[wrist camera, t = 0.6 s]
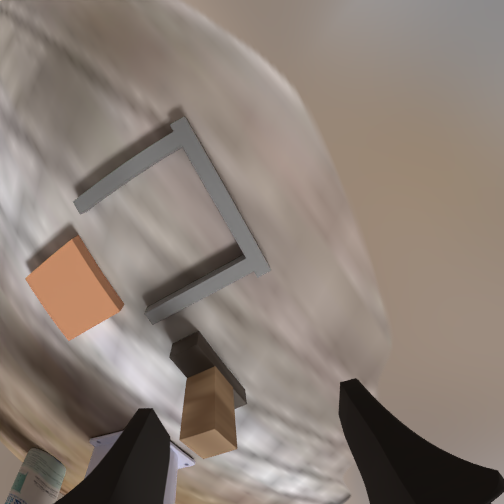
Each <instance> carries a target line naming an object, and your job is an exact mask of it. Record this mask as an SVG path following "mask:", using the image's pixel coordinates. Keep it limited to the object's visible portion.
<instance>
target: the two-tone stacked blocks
mask: <svg viewBox="0 0 504 504" xmlns="http://www.w3.org/2000/svg"><path fill="white" fill-rule="evenodd" d="M170 359H171V360H172V361H173V362H174V363H175V364H176V366H177V367H178V368H179V369H180V370H181V371H182V373H183V374H184V375H185V376H186V377H187V381H186V389H185V396H184V405H183V413H182V422H181V431H180V441H181V442H183V443H184V444H185V445H186V446H187V447H189V448H190V449H191V450H193V451H194V452H195V453H196V454H198V455H199V456H200V457H202V458H203V459H205V458H209V457H212V456H216V455H219V454H222V453H226V452H229V451H232V450H235V449H237V438H236V425H235V411H234V409H236V408H238V407H241V406H243V405H246V404H247V402H246V393H245V389H244V388H243V387H242V386H241V384H240V383H239V382H238V381H237V379H236V378H235V377H234V376H233V375H232V373H231V372H230V371H229V370H228V368H227V367H226V366H225V365H224V363H223V362H222V361H221V359H220V358H219V357H218V356H217V354H216V353H215V352H214V350H213V349H212V348H211V346H210V345H209V344H208V343H207V341H206V340H205V339H204V337H203V336H202V335H201V333H200V332H199V331H198V332H196V333H194V334H192V335H190V336H188V337H186V338H184V339H181V340H179V341H177V342H175V343H173V345H172V349H171V353H170Z"/></svg>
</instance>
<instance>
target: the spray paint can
mask: <svg viewBox="0 0 504 504" xmlns="http://www.w3.org/2000/svg"><path fill="white" fill-rule="evenodd" d="M65 471H66V469H65V467H64V466H63V464H62V463H61V462H59V461H58V460H57V459H56V458H54V457H53V456H51V455H50V454H48V453H46V452H44V451H42V450H40V449H37V448H31V449H30V450H29V452H28V454H27V456H26V458H25V460H24V462H23V464H22V466H21V468H20V470H19V472H18V475H17V477H16V479H15V481H14V484H13V486H12V488H11V491H10V493H9V495H8V498H7V500H6V503H5V504H53V503H55V502H56V500H57V496H58V494H59V491H60V488H61V485H62V482H63V479H64V476H65Z"/></svg>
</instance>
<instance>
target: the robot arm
mask: <svg viewBox="0 0 504 504" xmlns="http://www.w3.org/2000/svg"><path fill="white" fill-rule="evenodd" d="M339 418H340V421H341V425H342V428H343V432H344V435H345V438H346V440H347V443H348V445H349V447H350V450H351V452H352V455H353V457H354V459H355V462H356V464H357V466H358V469H359V471H360V473H361V476H362V478H363V481H364V484H365V487H366V490H367V494H368V497H369V501H370V504H491V502H492V501H494V500H495V499H496V498H497V497H499V496H500V495H501V494H502V493H503V492H504V479H503V477H502V476H501V474H500V473H499V472H498V471H497V470H494V469H490V468H486V467H482V466H479V465H476V464H473V463H471V462H468V461H465V460H463V459H461V458H458V457H456V456H454V455H452V454H450V453H448V452H446V451H444V450H442V449H440V448H438V447H436V446H435V445H433V444H431V443H429V442H428V441H426V440H425V439H423V438H422V437H420V436H419V435H417V434H416V433H415V432H413V431H412V430H410V429H409V428H408V427H407V426H405V425H404V424H403V423H401V422H400V421H399V420H398V419H397V418H396V417H394V416H393V415H392V414H391V413H390V412H389V411H388V410H386V408H385V407H383V406H382V405H381V404H380V403H379V402H378V401H377V400H376V399H375V398H374V397H373V396H372V395H371V394H370V392H369V391H368V390H367V389H366V388H365V387H364V386H363V385H362V384H361V383H360V381H359V380H358V379H356V378H355V379H351V380H348V381H344V382H340V398H339ZM90 443H91V444H92V445H93V446H94V450H93V453H92V456H91V459H90V463H89V466H88V469H87V472H86V475H85V478H84V480H83V481H82V482H81V483H79V484H78V485H77V486H76V487H75V488H74V489H72V490H71V491H70V492H69V493H68V494H66V495H65V496H64V497H62V498H61V499H59V500H58V501H56V502H55V503H53V504H175V495H176V482H177V469H180V468H184V467H189V466H193V465H195V461H194V460H193V459H192V458H191V457H189V456H188V455H187V454H185V453H184V452H183V451H181V450H180V449H179V448H178V447H176V446H175V445H174V444H173V443H171V442H170V436H169V434H168V433H167V431H166V429H165V428H164V426H163V425H162V423H161V421H160V420H159V418H158V417H157V415H156V413H155V412H154V410H153V408H143V409H138V411H137V412H136V413H135V415H134V416H133V418H132V419H131V420H130V422H129V423H128V425H127V426H126V428H125V429H124V430H123V431H120V432H116V433H112V434H108V435H104V436H100V437H96V438H91V439H90Z"/></svg>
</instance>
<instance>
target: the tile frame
mask: <svg viewBox="0 0 504 504" xmlns="http://www.w3.org/2000/svg"><path fill="white" fill-rule="evenodd" d="M170 126H171V128H172V129H173V131H174V132H172V133H170V134H169V135H167V136H165V137H164V138H162V139H161V140H159V141H157V142H156V143H154V144H153V145H151V146H149V147H148V148H146V149H145V150H143V151H142V152H140V153H139V154H137V155H136V156H134V157H133V158H131V159H130V160H128V161H127V162H125V163H124V164H123V165H121V166H120V167H118V168H117V169H115V170H114V171H113V172H111V173H110V174H108V175H107V176H106V177H104V178H103V179H102V180H100V181H99V182H98V183H96V184H95V185H94V186H92V187H91V188H90V189H88V190H87V191H86V192H85V193H83V194H82V195H81V196H80V197H78V198H77V199H76V200H75V201H73V203H74V205H75V206H76V208H77V210H78V212H79V214H83V213H85V212H87V211H88V210H90V209H91V208H92V207H94V206H95V205H96V204H98V203H99V202H100V201H102V200H103V199H104V198H106V197H107V196H108V195H110V194H111V193H113V192H114V191H115V190H117V189H118V188H120V187H121V186H123V185H124V184H126V183H127V182H128V181H130V180H131V179H133V178H134V177H136V176H137V175H139V174H140V173H142V172H143V171H145V170H146V169H148V168H150V167H151V166H153V165H154V164H156V163H157V162H159V161H161V160H162V159H164V158H165V157H167V156H169V155H170V154H172V153H174V152H175V151H177V150H179V149H180V148H182V147H183V149H184V151H185V152H186V154H187V156H188V158H189V159H190V161H191V163H192V165H193V166H194V168H195V170H196V172H197V173H198V175H199V177H200V179H201V180H202V182H203V184H204V186H205V187H206V189H207V191H208V193H209V194H210V196H211V198H212V200H213V201H214V203H215V205H216V207H217V208H218V210H219V212H220V214H221V215H222V217H223V219H224V221H225V222H226V224H227V226H228V228H229V229H230V231H231V233H232V234H233V236H234V238H235V240H236V241H237V243H238V245H239V247H240V248H241V250H242V252H243V253H244V255H242V256H240V257H238V258H237V259H235V260H233V261H231V262H229V263H227V264H226V265H224V266H222V267H220V268H218V269H216V270H215V271H213V272H211V273H209V274H207V275H205V276H204V277H202V278H200V279H198V280H196V281H194V282H193V283H191V284H189V285H187V286H185V287H183V288H182V289H180V290H178V291H176V292H174V293H172V294H171V295H169V296H167V297H165V298H163V299H161V300H160V301H158V302H156V303H154V304H152V305H150V306H149V307H147V309H146V311H145V313H144V314H145V315H146V317H147V318H148V319H149V321H150V322H151V323H152V325H153V324H155V323H157V322H159V321H161V320H163V319H165V318H167V317H169V316H171V315H173V314H174V313H176V312H178V311H180V310H182V309H184V308H186V307H188V306H190V305H192V304H194V303H195V302H197V301H199V300H201V299H203V298H205V297H207V296H209V295H211V294H213V293H214V292H216V291H218V290H220V289H222V288H224V287H226V286H228V285H229V284H231V283H233V282H235V281H237V280H239V279H241V278H243V277H244V276H246V275H248V274H250V273H252V272H255V274H256V276H257V278H258V277H260V276H262V275H264V274H265V273H267V272H269V271H271V269H270V266H269V264H268V262H267V261H266V259H265V257H264V255H263V253H262V252H261V250H260V248H259V246H258V244H257V243H256V241H255V239H254V237H253V236H252V234H251V232H250V230H249V228H248V227H247V225H246V223H245V221H244V219H243V218H242V216H241V214H240V212H239V210H238V209H237V207H236V205H235V203H234V202H233V200H232V198H231V196H230V194H229V193H228V191H227V189H226V187H225V186H224V184H223V182H222V180H221V178H220V177H219V175H218V173H217V171H216V170H215V168H214V166H213V164H212V163H211V161H210V159H209V157H208V155H207V154H206V152H205V150H204V148H203V147H202V145H201V143H200V141H199V140H198V138H197V136H196V134H195V133H194V131H193V129H192V127H191V126H190V124H189V122H188V120H187V119H186V117H185V116H184V117H182V118H180V119H179V120H177V121H175V122H174V123H172V124H170Z"/></svg>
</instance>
